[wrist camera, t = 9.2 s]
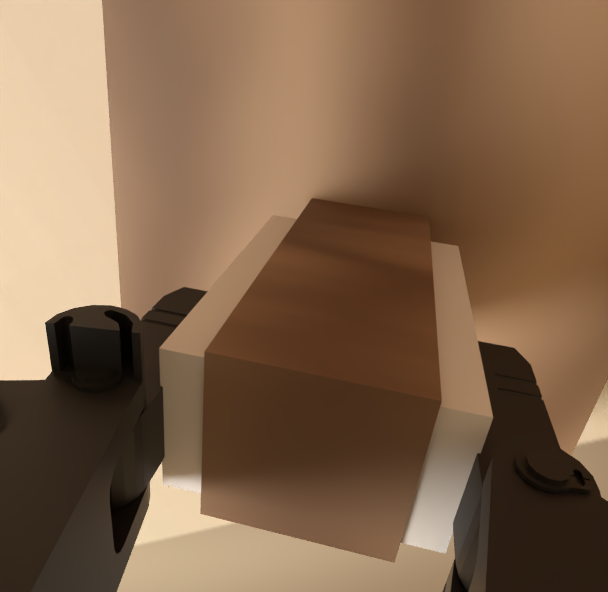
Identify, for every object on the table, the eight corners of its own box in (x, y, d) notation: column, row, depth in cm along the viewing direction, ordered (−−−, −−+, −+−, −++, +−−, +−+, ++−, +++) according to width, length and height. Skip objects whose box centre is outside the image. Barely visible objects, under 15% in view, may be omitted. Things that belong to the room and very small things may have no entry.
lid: (140, 395, 20) (-45, 627, 12) (118, -76, 13) (-355, -270, 5) (540, 484, 18) (639, 834, 10) (762, -12, 11) (1648, -161, 3)
